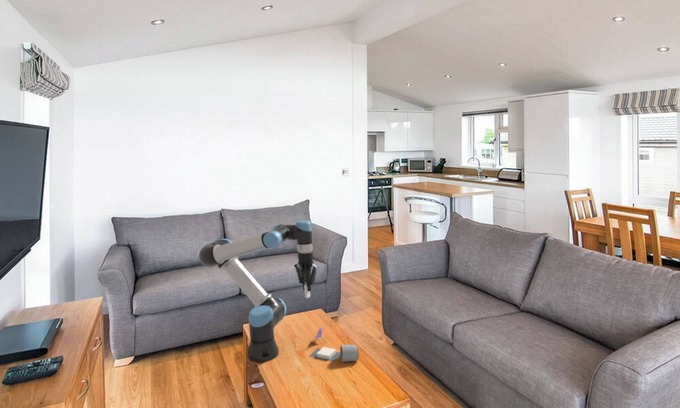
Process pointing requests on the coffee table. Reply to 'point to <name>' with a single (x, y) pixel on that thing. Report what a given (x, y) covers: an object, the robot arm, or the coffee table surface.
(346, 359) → the ceramic mug
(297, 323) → the coffee table surface
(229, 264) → the robot arm
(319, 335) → the lily
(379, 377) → the coffee table surface
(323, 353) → the tile
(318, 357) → the mat
